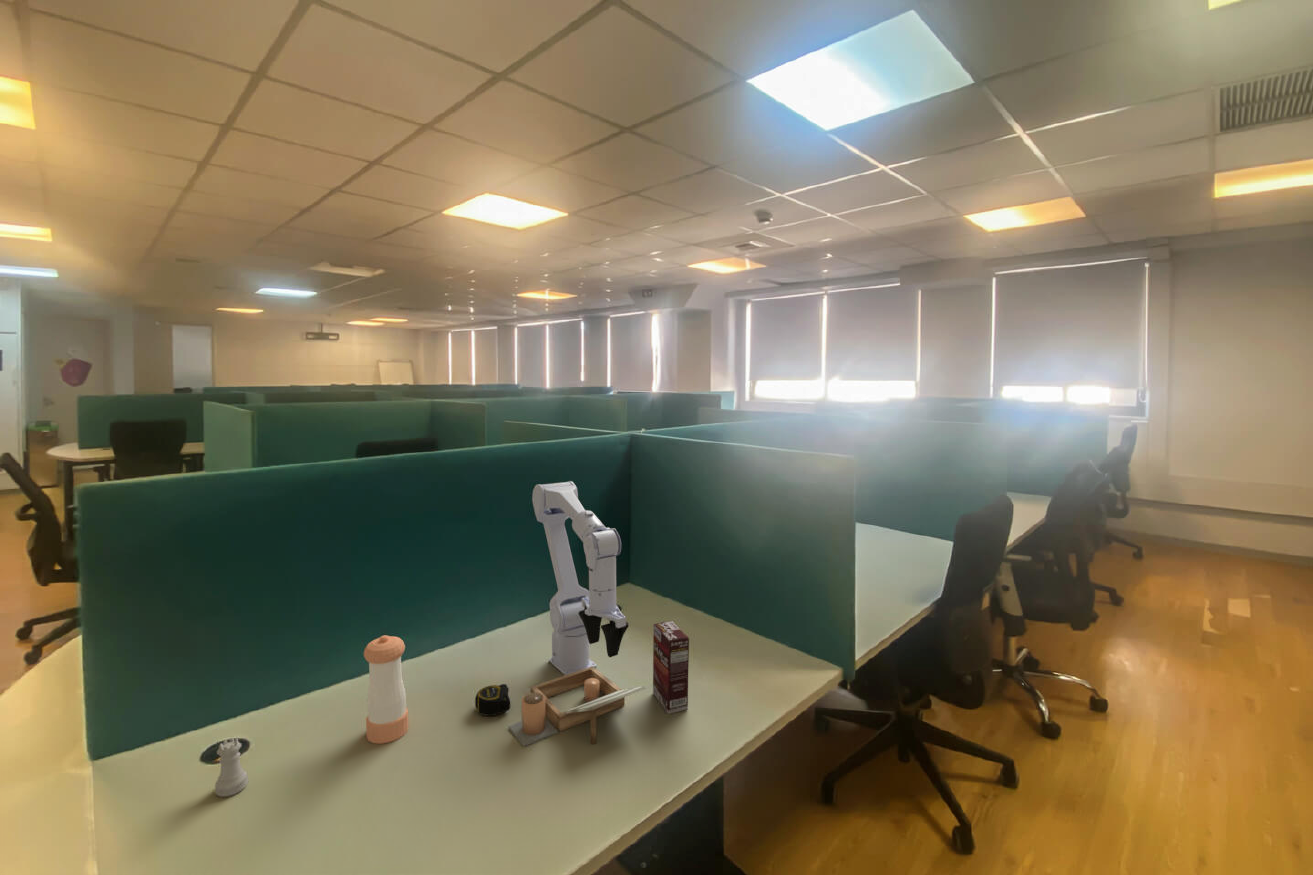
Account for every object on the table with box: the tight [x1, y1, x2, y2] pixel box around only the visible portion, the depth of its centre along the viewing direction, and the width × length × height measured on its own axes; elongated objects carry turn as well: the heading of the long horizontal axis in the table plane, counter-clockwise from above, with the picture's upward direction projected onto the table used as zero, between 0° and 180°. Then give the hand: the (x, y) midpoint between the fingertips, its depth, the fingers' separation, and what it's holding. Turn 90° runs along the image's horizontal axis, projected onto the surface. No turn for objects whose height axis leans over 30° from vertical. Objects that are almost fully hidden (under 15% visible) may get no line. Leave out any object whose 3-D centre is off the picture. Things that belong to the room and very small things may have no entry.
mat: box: [508, 717, 559, 747], centre depth 110 cm, size 7×7×1 cm
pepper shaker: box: [363, 634, 410, 745], centre depth 108 cm, size 7×7×19 cm
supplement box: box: [652, 620, 690, 715], centre depth 119 cm, size 9×5×16 cm, turn 23°
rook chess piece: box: [214, 737, 249, 798], centre depth 93 cm, size 4×4×8 cm
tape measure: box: [474, 683, 511, 716], centre depth 117 cm, size 7×7×4 cm
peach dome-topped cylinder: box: [521, 692, 546, 735], centre depth 110 cm, size 4×4×6 cm
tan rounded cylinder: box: [583, 678, 600, 702], centre depth 121 cm, size 3×3×4 cm
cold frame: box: [530, 666, 646, 745], centre depth 115 cm, size 22×15×9 cm
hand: (603, 648), depth 121 cm, fingers open, 7 cm apart
